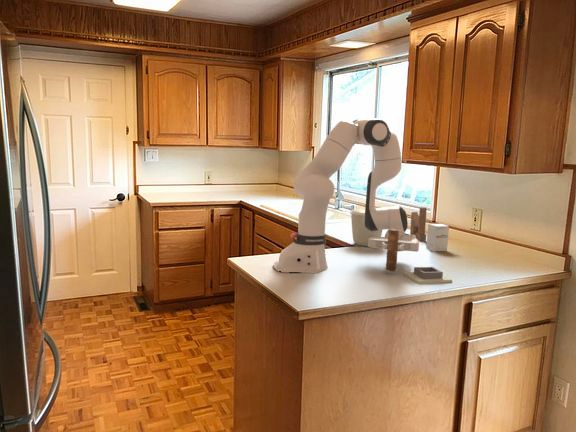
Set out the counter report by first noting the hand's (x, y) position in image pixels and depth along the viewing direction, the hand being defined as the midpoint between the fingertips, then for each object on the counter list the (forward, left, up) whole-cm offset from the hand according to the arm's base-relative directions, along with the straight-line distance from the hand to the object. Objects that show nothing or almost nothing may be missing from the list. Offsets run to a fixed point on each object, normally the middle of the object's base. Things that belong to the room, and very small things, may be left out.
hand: (392, 247), depth 192 cm
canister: (+10, +55, -11) cm, 57 cm away
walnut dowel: (0, +1, -9) cm, 9 cm away
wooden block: (+43, +65, -11) cm, 79 cm away
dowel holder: (+13, -6, -11) cm, 18 cm away
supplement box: (+41, +40, -11) cm, 58 cm away
